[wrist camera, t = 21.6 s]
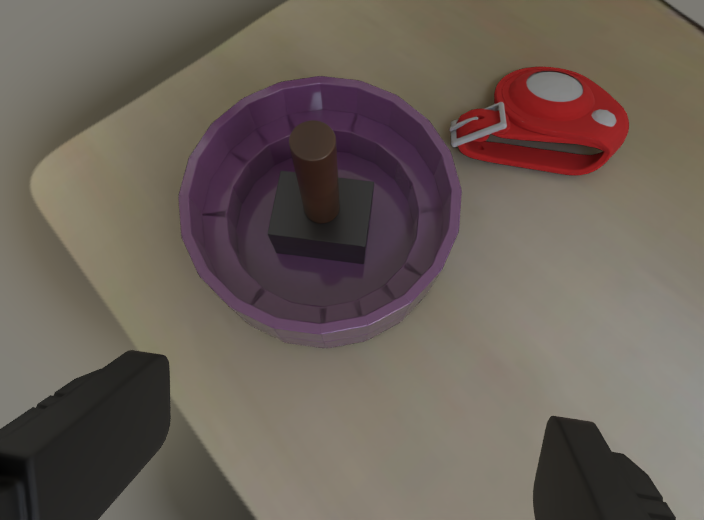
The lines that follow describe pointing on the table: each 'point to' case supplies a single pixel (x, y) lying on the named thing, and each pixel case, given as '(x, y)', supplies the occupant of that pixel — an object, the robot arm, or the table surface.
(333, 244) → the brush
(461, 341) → the table surface
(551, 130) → the tracker holder
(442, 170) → the bowl
